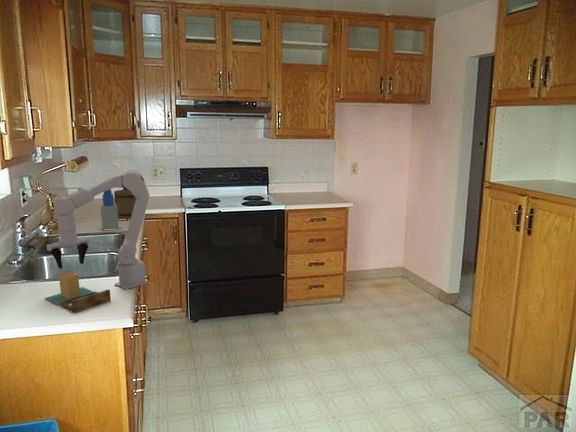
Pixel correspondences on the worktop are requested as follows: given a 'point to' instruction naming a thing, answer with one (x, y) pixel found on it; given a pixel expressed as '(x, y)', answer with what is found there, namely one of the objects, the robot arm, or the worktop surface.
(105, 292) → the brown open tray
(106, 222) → the spray bottle
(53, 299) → the mat
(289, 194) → the worktop surface
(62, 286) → the block
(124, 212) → the wooden container
